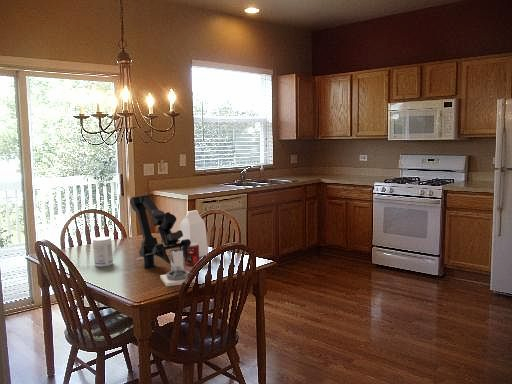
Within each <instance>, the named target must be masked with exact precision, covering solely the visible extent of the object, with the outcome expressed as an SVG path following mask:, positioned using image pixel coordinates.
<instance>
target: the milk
mask: <svg viewBox="0 0 512 384" xmlns="http://www.w3.org/2000/svg"><path fill="white" fill-rule="evenodd" d="M179 228H180V229H179V230H181V231H182V233H183V236H182V237H180V238H179V243H181V241H182V240H185V239H189V240H190V241H191V242H196V243H198V244H199V258H201V257H204V255H206V254H207V253H208V254H209V249H208V248H209V247H208V238H207V237H208V236H207V228H206V222H205V220H204V219H203V218H202V217H201V215H200V214H199V211H198V209H196V210H190V211H189V210H188V211H186V215H185V217H184V218H183V219H182V221H181V222H180V226H179ZM206 256H207V255H206Z"/></svg>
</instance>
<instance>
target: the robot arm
mask: <svg viewBox="0 0 512 384" xmlns="http://www.w3.org/2000/svg"><path fill="white" fill-rule="evenodd" d="M129 203H130V205H131V208H132V210H133V211H134V212H135V213H136V215H137V221H138V223H139V228H140V232H141V235H142V240H141V248H140V250H139V257H142V258H143V264H142V267H143V269H151V268H157V264H155V263H156V262H155V257H159V258H160V259H162V260H163V261H165V262H166V263H168V264H169V265H171V259H170V257H169V256H168V254H167V250H174V249H181V250H183V259H184V258H185V260H187V249H188V247H189V246H190V244H191V241H190V240H189V239H185V240H182V241H181V243H180V242H179V240H180V237H182V236H183V233H182V231H181V230H180V229H179V230H177V231H176V232H172V229H173V228H174V225H175V223H176V222H177V217H176V216H175V215H174V214H172V213H170V212H169V211H168V212H164V211H162V210H160V209H159V208H158V207H157V205H156V204H155V203H154V201H153V199H152V198H151V195H150V194H141V195H136V196H132V197H131V198H130V199H129ZM147 212H148V214H149V215H150V222H151V224H152V225H153V226H154V227H157V226H158V227H157V230H156V234H159V237H160V238H161V240H160V242H161V243H158V240H157V238H156V237H154V236H153V235H152V231H151V227H150V223H149V218H148V215H147Z"/></svg>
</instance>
